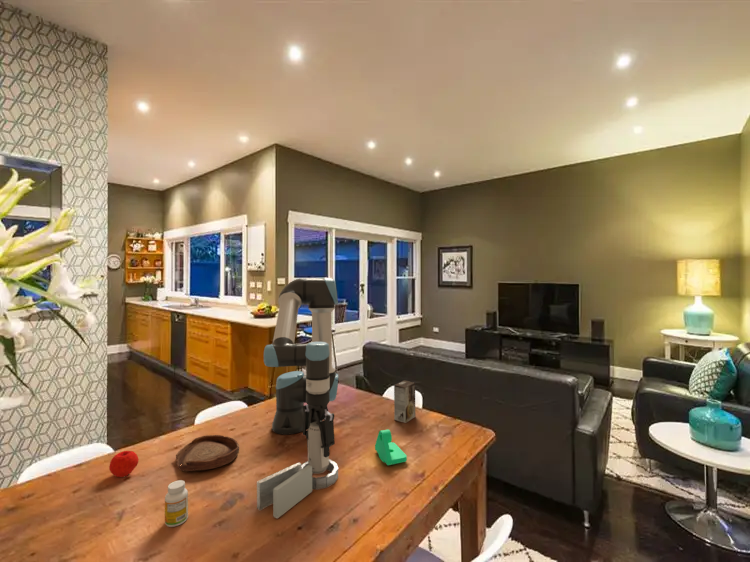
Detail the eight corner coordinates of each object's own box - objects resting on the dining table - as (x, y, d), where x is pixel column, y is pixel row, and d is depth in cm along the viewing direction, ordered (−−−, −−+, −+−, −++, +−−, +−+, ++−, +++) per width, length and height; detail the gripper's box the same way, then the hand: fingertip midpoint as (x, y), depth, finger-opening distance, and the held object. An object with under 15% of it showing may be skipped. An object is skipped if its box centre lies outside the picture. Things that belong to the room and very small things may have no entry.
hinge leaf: (273, 516, 94) (273, 488, 94) (308, 489, 106) (308, 465, 106) (277, 518, 93) (277, 490, 93) (312, 491, 105) (312, 466, 105)
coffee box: (404, 413, 167) (403, 379, 167) (415, 416, 163) (415, 382, 163) (393, 420, 159) (393, 384, 159) (405, 423, 156) (405, 387, 156)
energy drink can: (310, 464, 116) (310, 419, 116) (328, 464, 116) (328, 419, 116) (306, 474, 110) (306, 427, 110) (325, 474, 110) (325, 427, 110)
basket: (166, 459, 126) (166, 445, 126) (222, 440, 141) (222, 428, 141) (190, 483, 111) (190, 468, 111) (250, 459, 125) (250, 445, 125)
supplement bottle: (171, 514, 96) (170, 479, 96) (191, 513, 96) (191, 477, 96) (160, 528, 91) (160, 490, 91) (182, 526, 91) (182, 489, 91)
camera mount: (407, 464, 122) (407, 434, 122) (387, 468, 119) (387, 438, 119) (393, 448, 133) (393, 421, 133) (375, 452, 130) (374, 424, 130)
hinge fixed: (247, 499, 102) (247, 474, 102) (321, 463, 122) (321, 442, 122) (270, 519, 94) (269, 491, 94) (345, 477, 114) (345, 454, 114)
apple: (144, 470, 118) (144, 448, 118) (120, 483, 111) (120, 460, 111) (127, 466, 121) (127, 445, 121) (103, 479, 113) (103, 456, 113)
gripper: (291, 387, 117) (291, 456, 117) (327, 400, 104) (328, 478, 104) (309, 382, 122) (309, 448, 122) (346, 394, 109) (346, 468, 109)
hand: (318, 462), depth 113 cm, fingers closed on energy drink can, 6 cm apart
